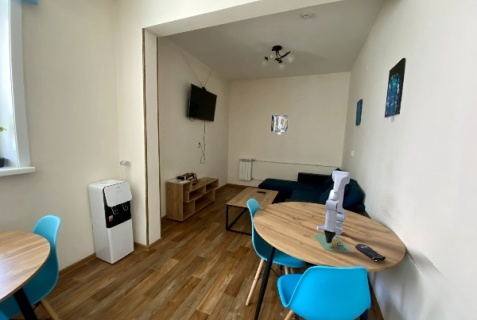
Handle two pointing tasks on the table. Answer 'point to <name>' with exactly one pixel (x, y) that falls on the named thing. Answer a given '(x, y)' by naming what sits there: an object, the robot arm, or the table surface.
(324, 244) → the board
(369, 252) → the electronic device
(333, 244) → the tan stepped block
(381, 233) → the table surface
